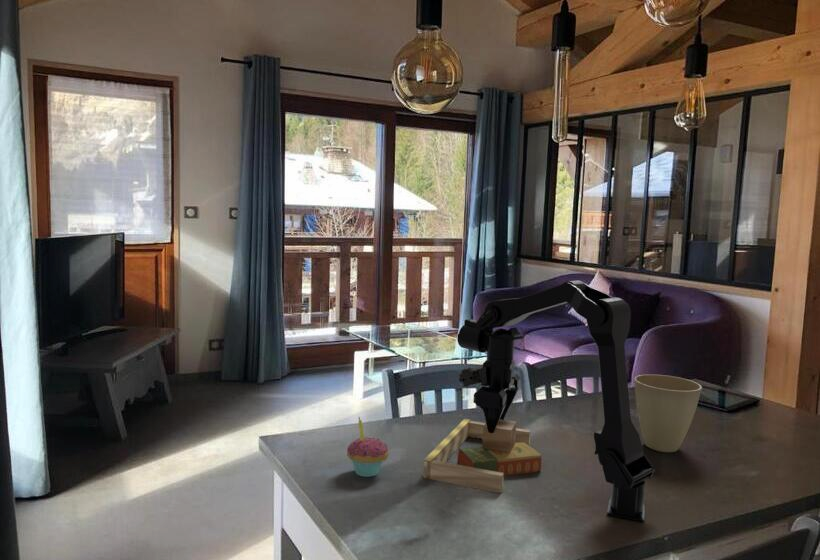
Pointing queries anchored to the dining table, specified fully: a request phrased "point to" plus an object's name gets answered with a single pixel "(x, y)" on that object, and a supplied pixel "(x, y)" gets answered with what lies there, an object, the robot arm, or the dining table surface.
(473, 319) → the robot arm
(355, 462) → the cupcake
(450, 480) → the dock bay
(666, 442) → the plant pot
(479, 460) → the carton
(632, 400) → the dining table surface
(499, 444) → the cardboard box
